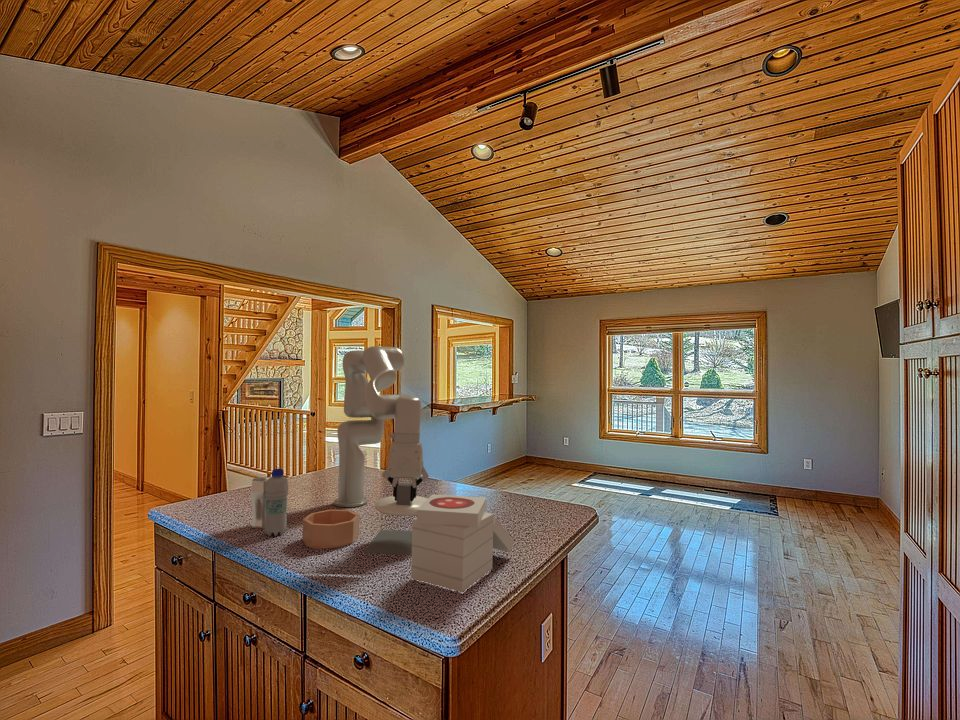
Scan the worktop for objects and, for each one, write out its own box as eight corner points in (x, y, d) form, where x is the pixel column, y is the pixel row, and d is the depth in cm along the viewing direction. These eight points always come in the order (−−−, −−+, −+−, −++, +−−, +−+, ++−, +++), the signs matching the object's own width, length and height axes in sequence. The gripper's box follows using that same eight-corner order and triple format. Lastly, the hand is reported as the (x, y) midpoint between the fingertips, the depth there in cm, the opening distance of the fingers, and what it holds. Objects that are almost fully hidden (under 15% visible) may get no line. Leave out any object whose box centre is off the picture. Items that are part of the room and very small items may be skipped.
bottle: (291, 531, 148) (294, 467, 148) (276, 538, 141) (278, 471, 142) (274, 529, 150) (276, 465, 150) (258, 535, 144) (260, 469, 144)
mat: (380, 531, 150) (380, 529, 150) (440, 534, 149) (440, 532, 149) (363, 554, 131) (363, 552, 131) (431, 557, 130) (431, 555, 130)
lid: (383, 497, 149) (384, 476, 150) (436, 499, 149) (437, 479, 149) (368, 514, 133) (369, 491, 133) (428, 517, 132) (429, 493, 132)
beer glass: (264, 529, 149) (265, 482, 149) (244, 527, 150) (246, 480, 151) (277, 523, 156) (279, 477, 156) (259, 521, 157) (260, 476, 157)
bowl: (316, 531, 149) (317, 509, 149) (363, 533, 148) (363, 510, 148) (295, 549, 134) (296, 524, 134) (347, 551, 133) (348, 526, 133)
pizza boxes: (519, 556, 132) (521, 491, 132) (464, 600, 106) (466, 519, 106) (461, 543, 141) (463, 482, 142) (397, 580, 115) (399, 506, 116)
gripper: (375, 439, 137) (373, 502, 137) (432, 441, 137) (430, 504, 137) (382, 435, 145) (380, 494, 145) (436, 437, 144) (434, 497, 144)
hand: (404, 499), depth 141 cm, fingers closed on lid, 4 cm apart
